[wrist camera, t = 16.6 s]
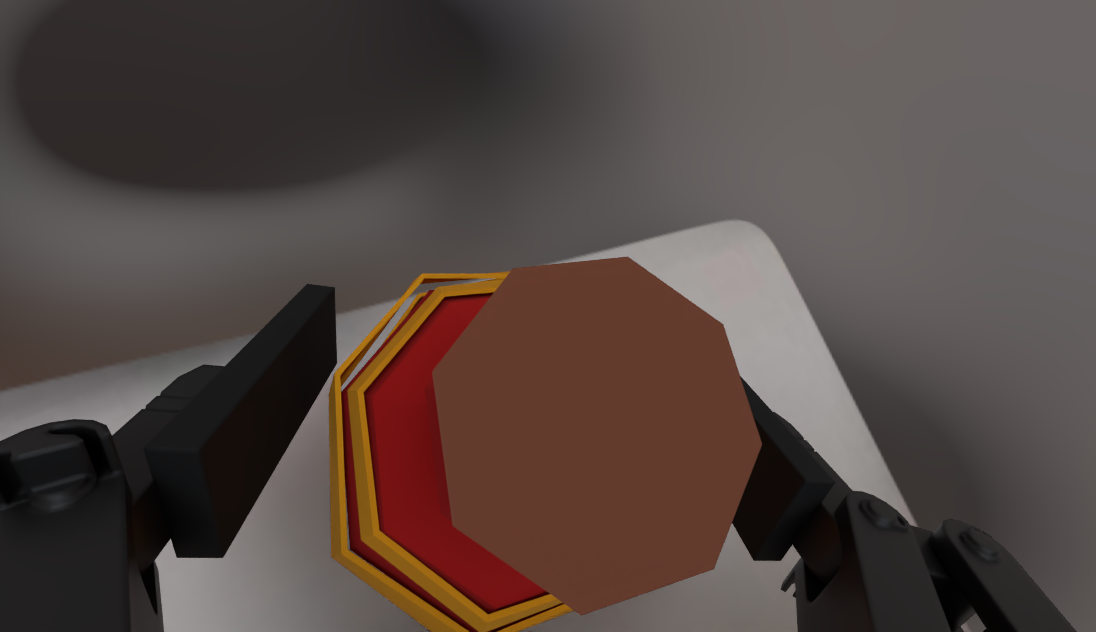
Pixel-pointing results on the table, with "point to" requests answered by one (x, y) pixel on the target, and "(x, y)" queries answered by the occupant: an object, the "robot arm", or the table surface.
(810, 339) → the table surface
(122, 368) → the table surface
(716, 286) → the table surface
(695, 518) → the potion bottle
